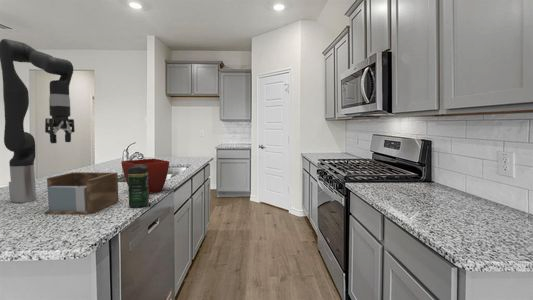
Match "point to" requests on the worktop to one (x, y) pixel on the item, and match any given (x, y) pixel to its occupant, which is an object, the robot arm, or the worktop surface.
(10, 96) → the robot arm
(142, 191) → the coffee jar
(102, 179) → the open wooden box
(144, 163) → the plant pot
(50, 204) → the grey rectangular block
